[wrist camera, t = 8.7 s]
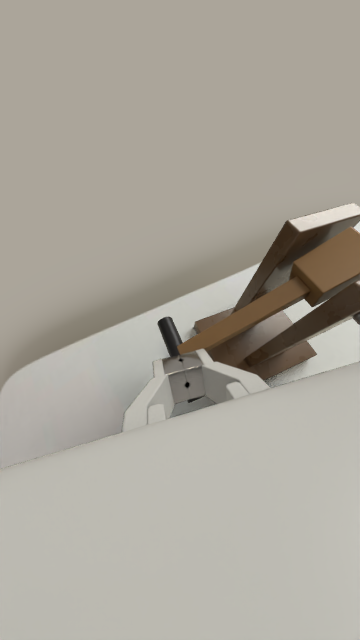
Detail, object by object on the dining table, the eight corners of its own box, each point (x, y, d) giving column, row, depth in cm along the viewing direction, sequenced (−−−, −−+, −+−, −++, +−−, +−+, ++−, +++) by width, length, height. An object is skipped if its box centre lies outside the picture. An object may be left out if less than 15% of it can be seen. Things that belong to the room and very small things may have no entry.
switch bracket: (228, 396, 16) (353, 373, 5) (193, 326, 20) (219, 214, 8) (309, 357, 18) (535, 275, 7) (265, 299, 21) (367, 178, 10)
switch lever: (196, 399, 12) (181, 407, 10) (166, 327, 14) (149, 321, 12) (396, 308, 8) (438, 290, 6) (312, 233, 11) (322, 203, 9)
